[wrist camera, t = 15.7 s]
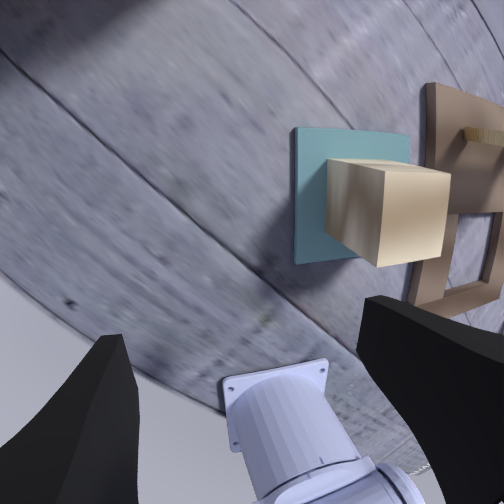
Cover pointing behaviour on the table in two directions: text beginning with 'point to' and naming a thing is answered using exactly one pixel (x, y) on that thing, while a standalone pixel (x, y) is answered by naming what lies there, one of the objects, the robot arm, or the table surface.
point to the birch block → (387, 209)
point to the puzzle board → (462, 197)
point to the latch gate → (484, 136)
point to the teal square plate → (315, 182)
